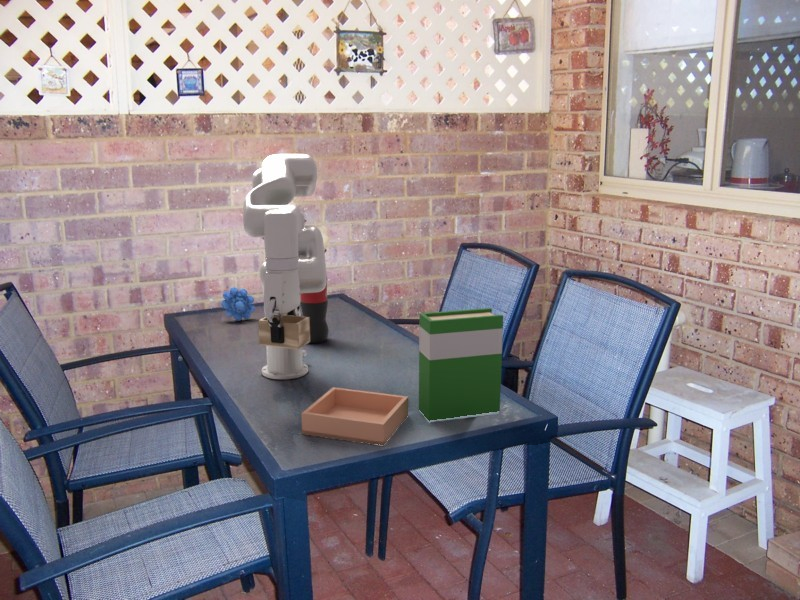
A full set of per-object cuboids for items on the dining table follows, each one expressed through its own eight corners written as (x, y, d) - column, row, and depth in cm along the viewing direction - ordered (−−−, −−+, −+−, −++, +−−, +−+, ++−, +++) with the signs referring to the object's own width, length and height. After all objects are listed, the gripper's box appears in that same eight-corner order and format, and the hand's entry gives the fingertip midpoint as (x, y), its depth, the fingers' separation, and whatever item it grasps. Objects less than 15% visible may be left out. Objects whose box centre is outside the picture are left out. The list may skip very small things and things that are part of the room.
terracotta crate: (333, 406, 177) (332, 387, 176) (408, 416, 171) (408, 396, 170) (302, 434, 161) (301, 413, 160) (383, 446, 156) (383, 424, 154)
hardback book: (487, 402, 180) (490, 307, 174) (499, 414, 173) (503, 315, 167) (418, 410, 175) (419, 313, 169) (428, 422, 168) (430, 321, 162)
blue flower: (224, 325, 247) (222, 290, 244) (220, 320, 253) (218, 286, 250) (258, 322, 251) (257, 287, 248) (254, 317, 257) (252, 283, 254)
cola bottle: (329, 336, 235) (327, 243, 227) (327, 344, 226) (325, 248, 219) (302, 336, 234) (300, 243, 227) (300, 344, 226) (297, 248, 219)
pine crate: (272, 337, 178) (271, 313, 177) (310, 341, 175) (309, 317, 174) (259, 344, 172) (258, 320, 171) (298, 349, 169) (297, 324, 168)
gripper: (285, 256, 178) (287, 327, 182) (248, 270, 162) (252, 347, 167) (313, 258, 176) (315, 329, 180) (279, 272, 160) (282, 350, 164)
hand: (284, 337), depth 173 cm, fingers closed on pine crate, 6 cm apart
